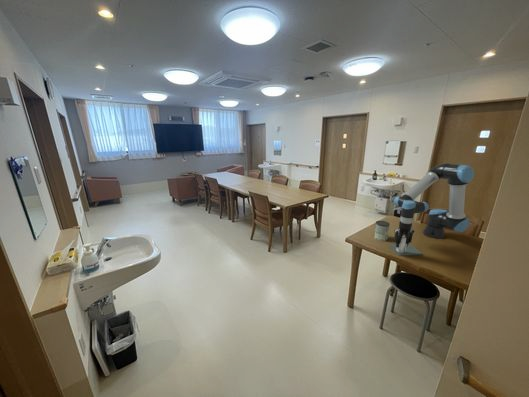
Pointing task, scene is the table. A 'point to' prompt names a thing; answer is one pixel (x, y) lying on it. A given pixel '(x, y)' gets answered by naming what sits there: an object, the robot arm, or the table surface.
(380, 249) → the table surface
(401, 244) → the chalk stick
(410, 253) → the slate board
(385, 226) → the coffee can
